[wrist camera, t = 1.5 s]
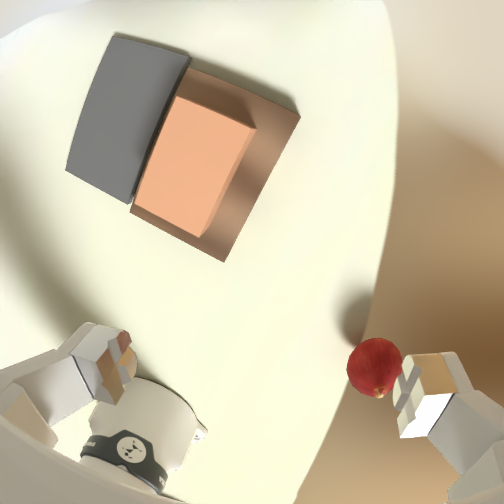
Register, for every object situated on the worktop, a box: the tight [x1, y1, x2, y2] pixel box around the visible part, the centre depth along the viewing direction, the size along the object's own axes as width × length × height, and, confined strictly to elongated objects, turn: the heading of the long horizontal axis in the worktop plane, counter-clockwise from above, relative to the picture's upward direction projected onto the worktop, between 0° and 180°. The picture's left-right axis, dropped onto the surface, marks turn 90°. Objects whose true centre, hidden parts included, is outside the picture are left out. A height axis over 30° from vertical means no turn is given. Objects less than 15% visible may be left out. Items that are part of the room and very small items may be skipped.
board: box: [130, 67, 301, 262], centre depth 24 cm, size 14×10×2 cm
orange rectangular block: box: [134, 96, 257, 237], centre depth 22 cm, size 9×6×3 cm, turn 154°
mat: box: [65, 36, 191, 204], centre depth 24 cm, size 15×9×1 cm, turn 154°
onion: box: [346, 338, 403, 398], centre depth 27 cm, size 6×6×8 cm
